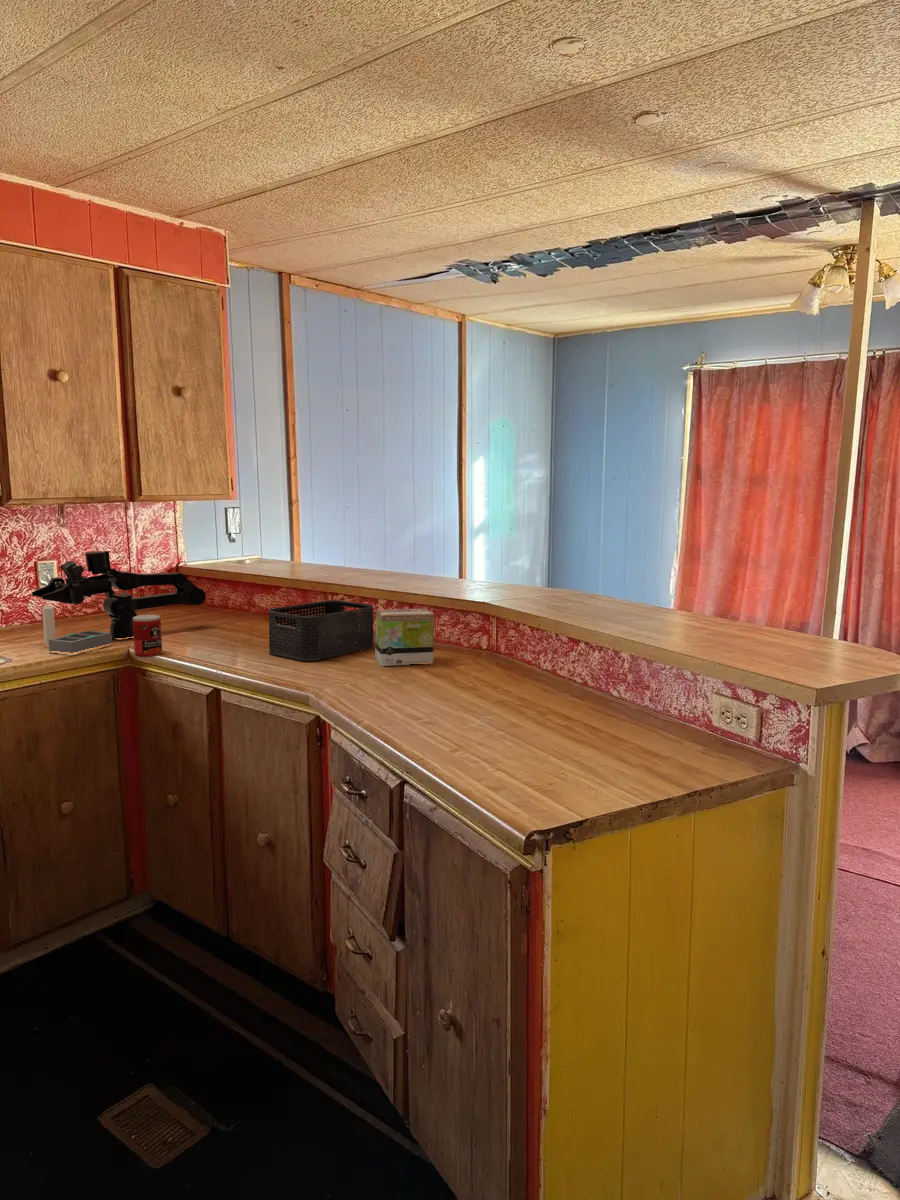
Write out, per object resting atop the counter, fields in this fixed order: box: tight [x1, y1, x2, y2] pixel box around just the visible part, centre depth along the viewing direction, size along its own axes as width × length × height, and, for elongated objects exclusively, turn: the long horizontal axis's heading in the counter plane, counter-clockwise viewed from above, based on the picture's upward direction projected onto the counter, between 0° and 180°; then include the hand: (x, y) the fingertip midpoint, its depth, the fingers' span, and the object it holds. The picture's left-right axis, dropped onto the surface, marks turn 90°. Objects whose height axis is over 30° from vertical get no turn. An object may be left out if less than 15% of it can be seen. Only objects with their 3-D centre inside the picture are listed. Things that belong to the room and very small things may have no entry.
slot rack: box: [48, 630, 113, 653], centre depth 249 cm, size 15×9×4 cm, turn 159°
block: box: [41, 605, 57, 646], centre depth 252 cm, size 2×5×12 cm, turn 34°
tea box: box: [374, 608, 435, 667], centre depth 235 cm, size 15×10×15 cm, turn 105°
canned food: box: [133, 614, 163, 657], centre depth 243 cm, size 8×8×11 cm
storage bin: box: [268, 599, 375, 662], centre depth 249 cm, size 29×19×13 cm
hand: (37, 595), depth 246 cm, fingers open, 9 cm apart
